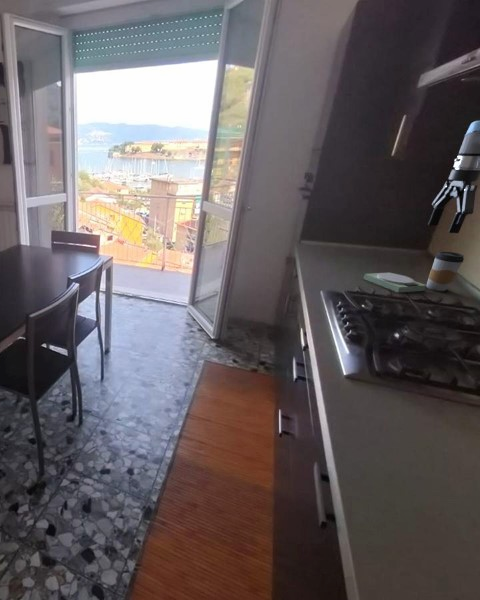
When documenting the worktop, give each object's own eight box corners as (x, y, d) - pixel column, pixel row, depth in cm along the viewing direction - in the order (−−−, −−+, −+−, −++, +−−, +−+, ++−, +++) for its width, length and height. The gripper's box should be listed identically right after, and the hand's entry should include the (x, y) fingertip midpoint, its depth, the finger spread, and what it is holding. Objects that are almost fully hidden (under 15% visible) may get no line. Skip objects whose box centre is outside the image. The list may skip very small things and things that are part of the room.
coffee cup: (446, 287, 150) (461, 252, 144) (452, 293, 144) (469, 258, 137) (420, 283, 154) (434, 250, 148) (425, 289, 147) (440, 255, 141)
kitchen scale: (424, 290, 147) (427, 283, 145) (397, 292, 145) (400, 285, 144) (388, 277, 161) (391, 270, 160) (363, 278, 159) (365, 272, 158)
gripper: (434, 166, 137) (413, 221, 146) (476, 171, 116) (449, 235, 124) (458, 167, 135) (436, 222, 144) (506, 171, 113) (476, 237, 122)
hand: (442, 228), depth 134 cm, fingers open, 13 cm apart
